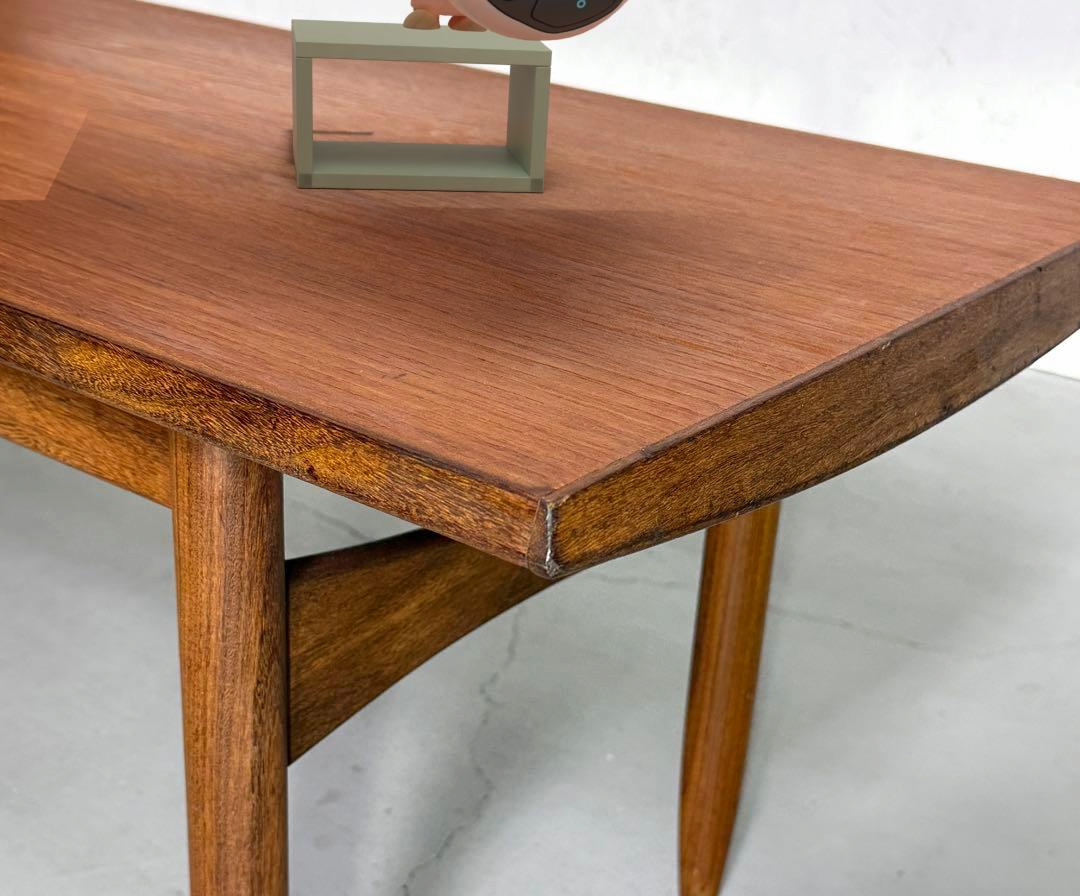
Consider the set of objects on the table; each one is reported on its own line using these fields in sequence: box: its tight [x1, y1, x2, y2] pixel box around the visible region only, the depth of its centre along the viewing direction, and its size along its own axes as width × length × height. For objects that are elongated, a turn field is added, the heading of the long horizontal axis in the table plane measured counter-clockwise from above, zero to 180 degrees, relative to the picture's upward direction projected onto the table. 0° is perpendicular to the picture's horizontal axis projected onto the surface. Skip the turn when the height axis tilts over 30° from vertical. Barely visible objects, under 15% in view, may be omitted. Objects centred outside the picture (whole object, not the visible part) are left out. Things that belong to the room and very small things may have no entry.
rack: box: [290, 18, 553, 194], centre depth 99 cm, size 16×10×9 cm, turn 100°
